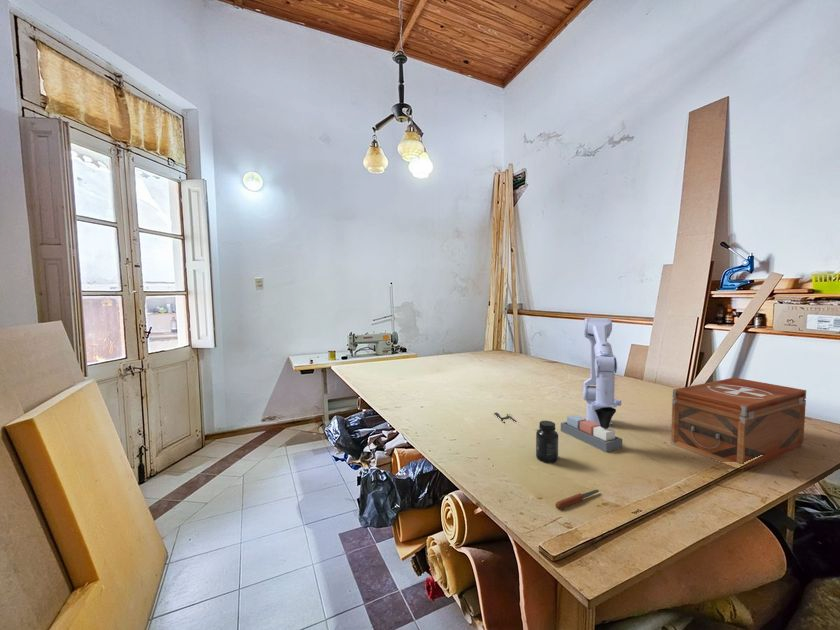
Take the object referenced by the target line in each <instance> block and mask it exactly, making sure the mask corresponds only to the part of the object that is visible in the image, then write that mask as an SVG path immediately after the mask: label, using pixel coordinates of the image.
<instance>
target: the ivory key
mask: <svg viewBox="0 0 840 630" xmlns="http://www.w3.org/2000/svg"><path fill="white" fill-rule="evenodd" d="M593 436H595V437H598V438H600V439H602V440H605V441H608V440H612V439H615V436H616V430H615V429H612V428H610V427H608V428H607V429H604V428H602V427H601V426H598V427H594V432H593Z"/></svg>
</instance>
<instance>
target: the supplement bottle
mask: <svg viewBox="0 0 840 630" xmlns="http://www.w3.org/2000/svg"><path fill="white" fill-rule="evenodd" d="M538 427H539V428H538V429H536V433H535V437H536V438H535V457H536V459H537V460H538V461H539V462H542V463H545V464H555V463H557V462H558V460H559V433H558V432H557V431H556V422H554V421H550V420H541V421H539V425H538Z"/></svg>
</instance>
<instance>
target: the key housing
mask: <svg viewBox="0 0 840 630" xmlns="http://www.w3.org/2000/svg"><path fill="white" fill-rule="evenodd" d="M560 432H562V433H565V434H567V435H568V434H569V436H570V437H573V438H575V439H576V440H579V441H581V442H584V443H585V444H588V445H590V446H592V447H594V448H596V449H598V450H601V451H603V452H604V453H609V452H612V451H616V450H619V449H623V438H621V437H618V436H616V435H615V439H612V440H608V441H605V440H602V439H600V438H598V437H595V436H593V434H589V433H586V432H584V431H582V430H580V428H578V429H577V428H575V427H573V426H570V425H568V424H567V421H563V422H560Z"/></svg>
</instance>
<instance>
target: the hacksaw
mask: <svg viewBox="0 0 840 630" xmlns="http://www.w3.org/2000/svg"><path fill="white" fill-rule="evenodd" d="M494 414H495V415H496V416H497V417H496V416H495V415H494ZM508 414H509V415H508ZM493 415H494V416H495V417H496V418H498V417H499V418H500V419H501V420H502V421H503V420H505V419H504V418H507V419H509V418H510V420H511V419H512V420H513V422H514V421H515V422H518V421H517V420H515V418H513V416H512V414H510V413H507V414H506V415H507V416H506V415H505V416H504V417H501V415H500V414H499V413H498V412H494V413H493ZM510 415H511V416H510ZM508 417H509V418H508ZM499 418H498V419H499ZM500 419H499V420H500ZM501 420H500V421H501ZM512 420H511V421H512ZM502 421H501V422H502ZM515 422H514V423H515Z"/></svg>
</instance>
